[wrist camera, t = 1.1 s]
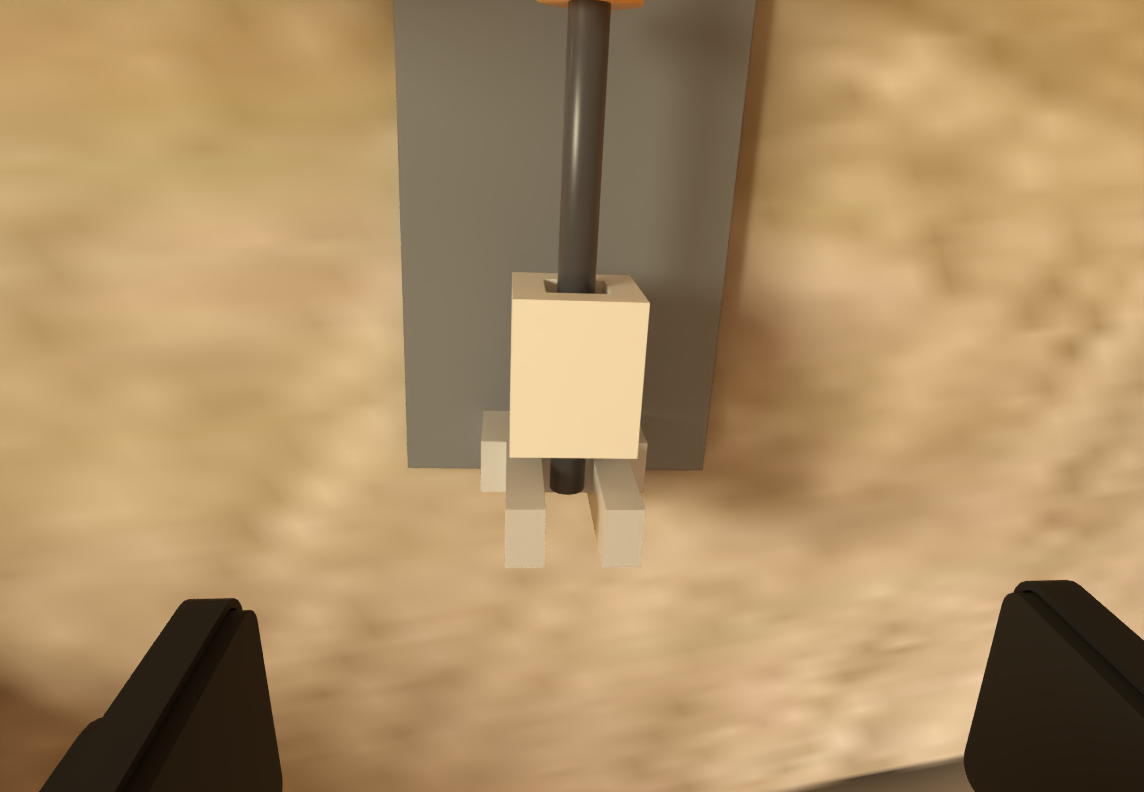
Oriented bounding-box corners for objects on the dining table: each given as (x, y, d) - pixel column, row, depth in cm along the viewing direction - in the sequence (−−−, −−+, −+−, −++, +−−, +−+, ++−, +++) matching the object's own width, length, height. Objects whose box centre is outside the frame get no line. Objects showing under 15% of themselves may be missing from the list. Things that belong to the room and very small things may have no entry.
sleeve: (620, 412, 28) (637, 458, 24) (509, 410, 28) (509, 457, 24) (630, 275, 26) (650, 302, 22) (512, 271, 26) (512, 298, 22)
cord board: (696, 460, 33) (761, 580, 24) (411, 457, 32) (375, 582, 23) (772, -226, 24) (910, -402, 16) (389, -259, 23) (322, -467, 15)
